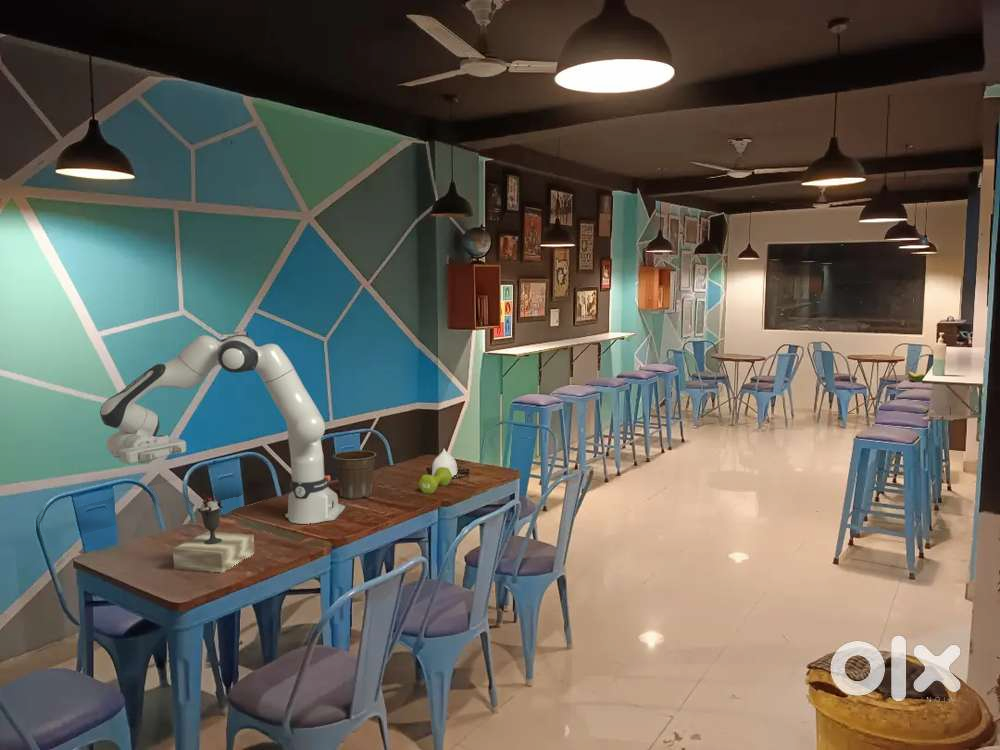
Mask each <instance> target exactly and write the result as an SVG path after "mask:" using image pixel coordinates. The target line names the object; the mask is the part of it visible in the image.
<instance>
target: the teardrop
mask: <svg viewBox="0 0 1000 750" xmlns="http://www.w3.org/2000/svg"><path fill="white" fill-rule="evenodd" d="M455 459H456V458H454V457H453V455H451V454H450V453H448V452H447V451H446V449H445V448H443V450H442V452H440V454H438V455H437V456H436V457H435V458H434V460H433V462H432V464H431V466H432V467H431V475H433V476H434V473H435V471H436V470H437V469H438V468H440V467H444V468H448V469H449V470H450V472H451V474H452V477H453V476H454V475H456V474H457V472H458V464H457V461H456V460H455Z"/></svg>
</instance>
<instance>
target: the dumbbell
mask: <svg viewBox="0 0 1000 750" xmlns="http://www.w3.org/2000/svg"><path fill="white" fill-rule="evenodd" d="M452 479H453V478H452V474H451V472H450V470H449V469H448V468H444V467H440V468H438V469H437V470H436V471H435V473H434V476H433V475H432V474H423V475H422V476H421V478H420V480H419V482H418V486H419V489H420V490H421V491H422V493H424V494H428V495H429V494H434V493H436V491H437V489H438V487H439V486H442V487H443V486H444V487H445V486H446V487H447V486H448V485H449V484H450V483H451V482H452Z"/></svg>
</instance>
